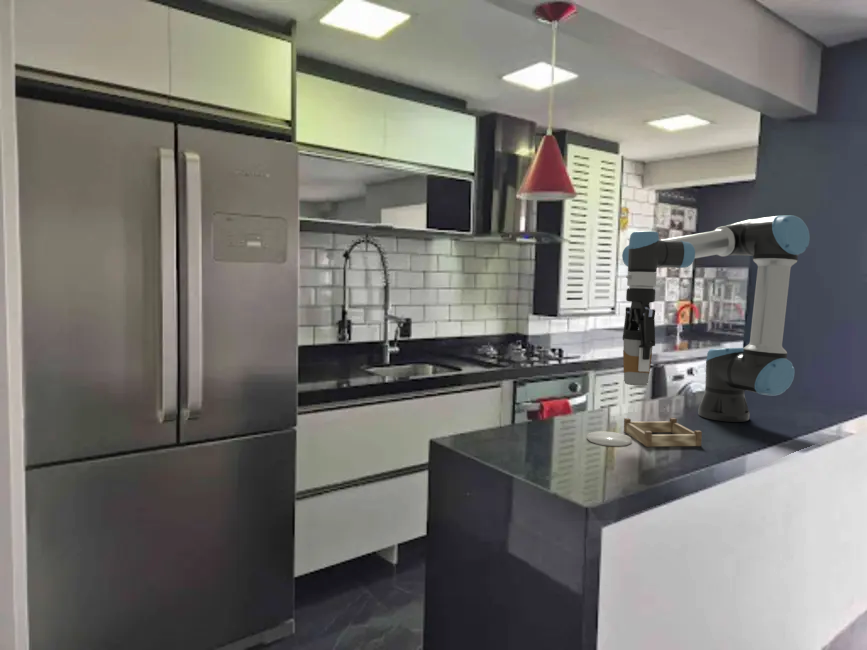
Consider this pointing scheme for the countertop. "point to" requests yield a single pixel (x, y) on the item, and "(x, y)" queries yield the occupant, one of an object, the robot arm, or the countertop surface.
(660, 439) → the wooden frame
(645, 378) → the coffee cup
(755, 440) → the countertop surface
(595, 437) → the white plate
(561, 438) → the countertop surface
